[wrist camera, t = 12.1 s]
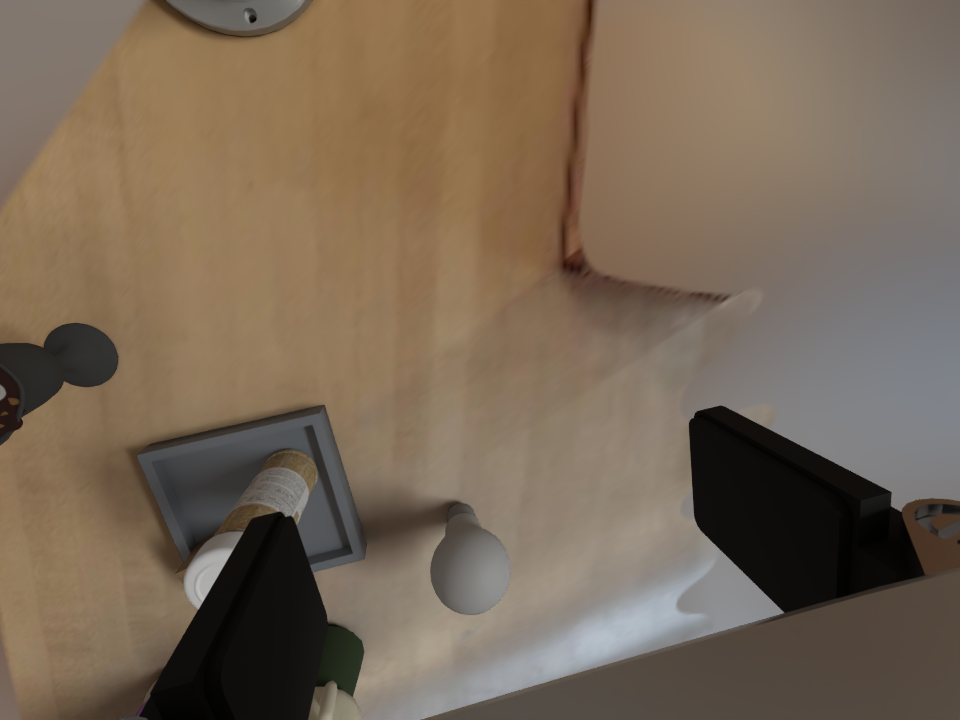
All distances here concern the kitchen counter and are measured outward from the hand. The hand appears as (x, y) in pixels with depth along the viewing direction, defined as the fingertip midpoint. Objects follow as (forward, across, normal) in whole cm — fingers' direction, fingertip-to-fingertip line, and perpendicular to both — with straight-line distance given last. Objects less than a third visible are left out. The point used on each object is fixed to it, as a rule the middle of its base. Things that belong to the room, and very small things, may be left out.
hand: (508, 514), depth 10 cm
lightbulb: (+28, +2, +18) cm, 34 cm away
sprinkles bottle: (+28, +15, +10) cm, 33 cm away
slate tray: (+28, +18, +12) cm, 35 cm away
